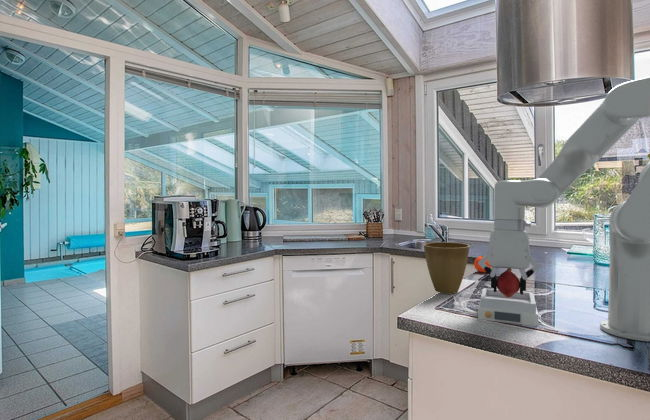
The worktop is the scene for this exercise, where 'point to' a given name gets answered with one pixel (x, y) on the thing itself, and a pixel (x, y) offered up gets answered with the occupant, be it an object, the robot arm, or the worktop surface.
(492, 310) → the scale
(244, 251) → the worktop surface
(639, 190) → the robot arm
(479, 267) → the clementine
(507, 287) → the onion
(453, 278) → the plant pot
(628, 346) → the worktop surface
